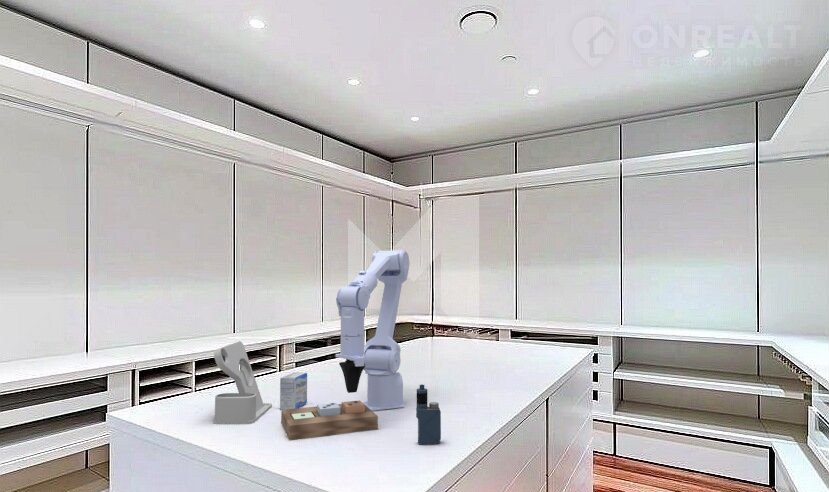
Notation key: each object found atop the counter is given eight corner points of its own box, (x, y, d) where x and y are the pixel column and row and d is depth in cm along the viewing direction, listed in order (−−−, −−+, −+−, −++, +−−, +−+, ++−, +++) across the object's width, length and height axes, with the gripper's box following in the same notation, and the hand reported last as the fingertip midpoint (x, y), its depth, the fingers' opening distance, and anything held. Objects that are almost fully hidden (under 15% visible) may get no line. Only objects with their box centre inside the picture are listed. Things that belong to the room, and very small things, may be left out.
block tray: (360, 413, 122) (360, 401, 122) (377, 429, 109) (377, 415, 109) (281, 422, 114) (281, 409, 114) (289, 440, 101) (289, 425, 101)
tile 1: (310, 420, 112) (311, 411, 112) (314, 425, 108) (314, 416, 108) (291, 422, 111) (291, 413, 111) (294, 428, 106) (294, 418, 106)
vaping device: (415, 441, 101) (415, 383, 102) (440, 440, 101) (439, 383, 102) (416, 445, 98) (416, 386, 99) (441, 444, 99) (441, 385, 100)
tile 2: (359, 408, 117) (359, 399, 117) (364, 413, 113) (365, 404, 113) (341, 410, 115) (341, 401, 115) (346, 415, 111) (346, 406, 111)
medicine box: (294, 411, 125) (295, 377, 125) (279, 410, 126) (280, 377, 126) (307, 403, 132) (307, 372, 133) (292, 402, 133) (293, 371, 134)
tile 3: (335, 411, 115) (335, 402, 115) (340, 415, 111) (340, 406, 111) (316, 413, 113) (317, 403, 113) (320, 418, 109) (320, 408, 109)
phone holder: (252, 424, 113) (254, 348, 114) (209, 424, 113) (212, 348, 114) (273, 405, 130) (274, 339, 131) (236, 406, 130) (238, 339, 131)
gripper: (329, 333, 121) (329, 387, 120) (343, 339, 107) (342, 400, 106) (356, 331, 123) (356, 384, 122) (373, 337, 110) (372, 397, 109)
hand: (351, 391), depth 114 cm, fingers closed
